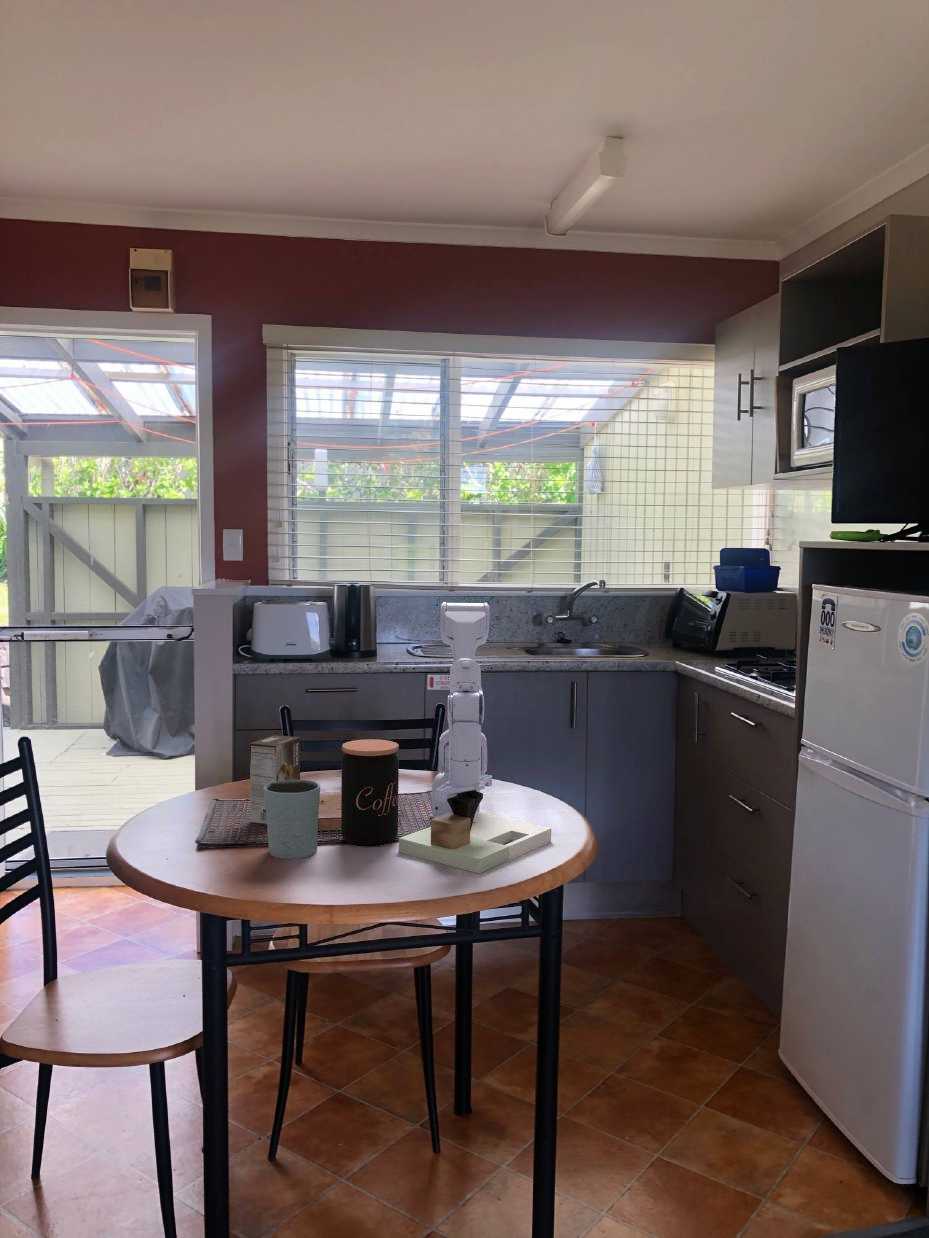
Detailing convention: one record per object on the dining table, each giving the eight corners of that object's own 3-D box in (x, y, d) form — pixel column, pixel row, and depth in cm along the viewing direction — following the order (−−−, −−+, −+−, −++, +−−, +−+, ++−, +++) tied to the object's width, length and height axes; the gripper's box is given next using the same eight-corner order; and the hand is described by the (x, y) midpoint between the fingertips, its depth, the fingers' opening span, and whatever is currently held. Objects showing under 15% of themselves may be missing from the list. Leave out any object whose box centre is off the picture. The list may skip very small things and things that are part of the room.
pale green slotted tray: (398, 851, 169) (398, 838, 169) (474, 823, 187) (474, 810, 187) (478, 873, 158) (479, 859, 158) (551, 841, 177) (551, 828, 176)
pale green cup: (302, 863, 162) (302, 795, 161) (252, 855, 166) (252, 789, 165) (330, 846, 172) (330, 781, 171) (282, 839, 175) (282, 776, 174)
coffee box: (274, 810, 194) (274, 734, 193) (301, 813, 192) (301, 736, 191) (249, 822, 186) (249, 742, 185) (277, 826, 184) (277, 745, 182)
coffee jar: (353, 851, 169) (353, 753, 168) (333, 834, 178) (333, 741, 177) (407, 843, 174) (408, 748, 173) (385, 828, 183) (385, 737, 182)
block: (430, 844, 166) (430, 819, 165) (448, 837, 170) (448, 813, 169) (452, 849, 163) (453, 824, 162) (470, 843, 167) (470, 818, 166)
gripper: (457, 768, 160) (456, 846, 161) (506, 754, 172) (504, 827, 173) (426, 762, 165) (425, 838, 166) (475, 749, 176) (474, 820, 177)
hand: (463, 832), depth 169 cm, fingers closed
